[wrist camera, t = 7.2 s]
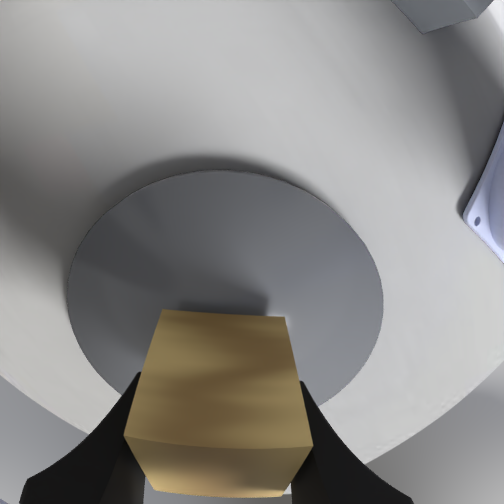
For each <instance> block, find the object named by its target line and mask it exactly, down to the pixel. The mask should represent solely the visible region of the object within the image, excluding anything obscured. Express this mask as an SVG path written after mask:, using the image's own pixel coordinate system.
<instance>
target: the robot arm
mask: <svg viewBox="0 0 504 504" xmlns="http://www.w3.org/2000/svg"><path fill="white" fill-rule="evenodd" d="M475 219H476V220H475ZM463 220H464V222H465V223H466V224H467V225H468V226H469V227H470V228H471V229H472V230H473V231H474V232H475V233H476V234H477V235H478V236H479V237H480V238H481V239H482V240H483V241H484V242H485V243H486V244H487V246H488V247H489V248H490V249H491V250H492V251H493V252H494V253H495V254H496V255H497V257H498V258H499V259H500V260H501V261H502V262H503V263H504V122H503V125H502V128H501V131H500V133H499V136H498V139H497V141H496V144H495V146H494V149H493V151H492V154H491V156H490V158H489V161H488V163H487V165H486V168H485V170H484V172H483V174H482V177H481V179H480V181H479V183H478V185H477V187H476V189H475V191H474V193H473V195H472V197H471V199H470V201H469V203H468V205H467V207H466V209H465V211H464V213H463ZM474 221H475V222H474ZM140 376H141V372H138V373H137V374H136V375H135V377H134V379H133V380H132V382H131V383H130V385H129V386H128V388H127V389H126V390H125V392H124V393H123V395H122V396H121V398H120V399H119V400H118V401H117V403H116V404H115V405H114V407H113V408H112V409H111V411H110V412H109V413H108V414H107V415H106V417H105V418H104V419H103V420H102V421H101V422H100V424H99V425H98V426H97V427H96V428H95V429H94V430H93V431H92V432H91V433H90V434H89V435H88V436H87V437H86V438H85V439H84V440H83V441H82V442H81V443H80V444H79V445H78V446H77V447H75V448H74V449H73V450H72V451H71V452H70V453H68V454H67V455H66V456H64V457H63V458H61V459H60V460H59V461H57V462H56V463H54V464H53V465H51V466H50V467H48V468H47V469H45V470H43V471H41V472H40V473H38V474H36V475H34V476H32V477H30V478H29V479H27V481H26V483H25V485H24V488H23V491H22V494H21V498H20V501H19V503H20V504H143V498H144V485H145V474H144V472H143V470H142V469H141V467H140V465H139V463H138V462H137V460H136V458H135V456H134V454H133V453H132V451H131V449H130V447H129V445H128V443H127V441H126V439H125V437H124V432H125V428H126V424H127V421H128V417H129V413H130V410H131V406H132V403H133V399H134V396H135V392H136V389H137V386H138V382H139V379H140ZM299 382H300V386H301V391H302V395H303V400H304V404H305V409H306V414H307V418H308V423H309V428H310V432H311V437H312V442H313V447H312V449H311V451H310V452H309V454H308V456H307V457H306V459H305V461H304V462H303V464H302V465H301V467H300V469H299V470H298V472H297V473H296V475H295V476H294V478H293V479H292V481H291V492H292V504H414V503H413V501H412V499H411V498H410V497H408V496H407V495H405V494H403V493H401V492H400V491H398V490H397V489H395V488H393V487H392V486H391V485H389V484H388V483H386V482H385V481H384V480H382V479H381V478H379V477H378V476H377V475H376V474H375V473H374V472H372V471H371V470H370V469H369V468H368V467H367V466H365V465H364V464H363V463H362V462H361V461H360V460H359V459H358V458H357V457H356V456H355V455H354V454H353V453H352V452H351V451H350V450H349V448H348V447H347V446H346V445H345V444H344V443H343V441H342V440H341V439H340V438H339V436H338V435H337V434H336V433H335V431H334V430H333V429H332V427H331V426H330V424H329V423H328V421H327V420H326V419H325V417H324V416H323V414H322V413H321V411H320V409H319V408H318V406H317V405H316V403H315V401H314V400H313V398H312V396H311V394H310V392H309V391H308V389H307V387H306V385H305V383H304V382H303V381H299ZM0 504H8V503H6V502H4V501H3V500H1V499H0Z"/></svg>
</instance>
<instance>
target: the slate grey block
mask: <svg viewBox="0 0 504 504" xmlns="http://www.w3.org/2000/svg"><path fill="white" fill-rule="evenodd" d="M391 1H392V2H393V3H394V4H395V5H396V6H397V7H398V8H399V9H400V10H401V11H402V12H403V13H404V14H405V15H406V16H407V17H408V19H409V20H410V21H411V22H412V23H413V24H414V25H415V26H416V27H417V29H418V30H419V31H420V32H421V33H422V34H424V33H427V32H430V31H433V30H436V29H439V28H442V27H446V26H449V25H452V24H456V23H460V22H463V21H467V20H471V19H475V18H478V16H479V15H480V14H481V13H482V12H483V11H484V10H485V9H486V8H487V7H488V6H489V5H490V4H491V3H492V2H493V0H391Z"/></svg>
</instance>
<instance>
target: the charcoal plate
mask: <svg viewBox="0 0 504 504" xmlns="http://www.w3.org/2000/svg"><path fill="white" fill-rule="evenodd" d="M67 303H68V312H69V318H70V322H71V325H72V329H73V332H74V334H75V337H76V339H77V342H78V344H79V346H80V348H81V350H82V351H83V353H84V355H85V356H86V358H87V360H88V361H89V362H90V364H91V365H92V366H93V368H94V369H95V370H96V372H97V373H98V374H99V375H100V376H101V377H102V378H103V379H104V380H105V381H106V382H107V383H108V384H109V385H110V386H111V387H113V388H114V389H115V390H116V391H117V392H118V393H120V394H121V395H123V393H124V392H125V390H126V389H127V388H128V386H129V385H130V383H131V382H132V380H133V379H134V377H135V375H136V374H137V373H138V372H142V369H143V366H144V363H145V360H146V356H147V353H148V350H149V347H150V344H151V341H152V338H153V335H154V332H155V329H156V326H157V323H158V320H159V318H160V315H161V312H162V309H167V310H178V311H190V312H203V313H218V314H234V315H254V316H280V317H285V320H286V325H287V329H288V333H289V337H290V342H291V346H292V351H293V355H294V359H295V364H296V368H297V373H298V377H299V381H303V382H304V383H305V385H306V387H307V389H308V391H309V392H310V394H311V396H312V398H313V400H314V401H315V403H316V405H317V406H320V405H321V404H323V403H325V402H326V401H328V400H329V399H331V398H332V397H333V396H335V395H336V394H337V393H339V392H340V391H341V390H342V389H343V388H344V387H345V386H346V385H348V384H349V383H350V382H351V380H352V379H353V378H354V377H355V376H356V375H357V374H358V372H359V371H360V370H361V369H362V367H363V366H364V364H365V363H366V361H367V360H368V358H369V356H370V354H371V352H372V350H373V348H374V346H375V344H376V341H377V338H378V335H379V332H380V329H381V324H382V318H383V291H382V285H381V279H380V276H379V273H378V270H377V267H376V265H375V262H374V260H373V258H372V256H371V254H370V252H369V251H368V249H367V247H366V245H365V244H364V242H363V241H362V240H361V238H360V237H359V236H358V235H357V234H356V232H355V231H354V230H353V229H352V227H351V226H350V225H349V224H348V223H347V222H346V221H345V220H344V219H343V218H342V217H341V216H339V215H338V214H337V213H336V212H335V211H334V210H333V209H331V208H330V207H329V206H328V205H327V204H326V203H324V202H323V201H321V200H320V199H318V198H316V197H315V196H313V195H312V194H310V193H308V192H307V191H305V190H303V189H301V188H299V187H297V186H294V185H292V184H290V183H287V182H285V181H283V180H280V179H276V178H273V177H269V176H265V175H262V174H258V173H253V172H245V171H236V170H200V171H195V172H189V173H183V174H178V175H174V176H171V177H168V178H165V179H162V180H159V181H156V182H153V183H151V184H149V185H147V186H145V187H143V188H141V189H139V190H137V191H136V192H134V193H132V194H130V195H129V196H127V197H126V198H125V199H123V200H122V201H121V202H119V203H118V204H117V205H115V206H114V207H113V208H112V209H110V210H109V211H108V212H106V213H105V214H104V215H103V216H102V217H101V218H100V219H99V220H98V221H97V222H96V224H95V225H94V226H93V227H92V228H91V229H90V230H89V232H88V233H87V235H86V236H85V238H84V240H83V241H82V243H81V244H80V246H79V248H78V250H77V252H76V255H75V257H74V260H73V262H72V265H71V269H70V274H69V279H68V288H67Z"/></svg>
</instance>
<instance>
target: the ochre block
mask: <svg viewBox="0 0 504 504" xmlns="http://www.w3.org/2000/svg"><path fill="white" fill-rule="evenodd" d="M124 437H125V439H126V441H127V443H128V445H129V447H130V449H131V451H132V453H133V454H134V456H135V458H136V460H137V462H138V463H139V465H140V467H141V469H142V470H143V472H144V474H145V475H146V477H147V478H148V480H149V482H150V483H151V485H152V486H153V488H154V490H158V491H165V492H172V493H179V494H187V495H198V496H211V497H240V498H241V497H245V498H247V497H276V496H282V494H283V493H284V491H285V490H286V488H287V487H288V486H289V484H290V483H291V481H292V479H293V478H294V476H295V475H296V473H297V472H298V470H299V469H300V467H301V465H302V464H303V462H304V461H305V459H306V457H307V456H308V454H309V452H310V451H311V449H312V447H313V442H312V437H311V432H310V428H309V423H308V418H307V414H306V409H305V404H304V400H303V395H302V391H301V386H300V382H299V377H298V373H297V368H296V364H295V359H294V355H293V351H292V346H291V342H290V337H289V333H288V329H287V325H286V320H285V317H280V316H254V315H234V314H218V313H203V312H190V311H178V310H167V309H162V312H161V315H160V318H159V320H158V323H157V326H156V329H155V332H154V335H153V338H152V341H151V344H150V347H149V350H148V353H147V356H146V360H145V363H144V366H143V369H142V372H141V376H140V379H139V382H138V386H137V389H136V392H135V396H134V399H133V403H132V406H131V410H130V413H129V417H128V421H127V424H126V428H125V432H124Z"/></svg>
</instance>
